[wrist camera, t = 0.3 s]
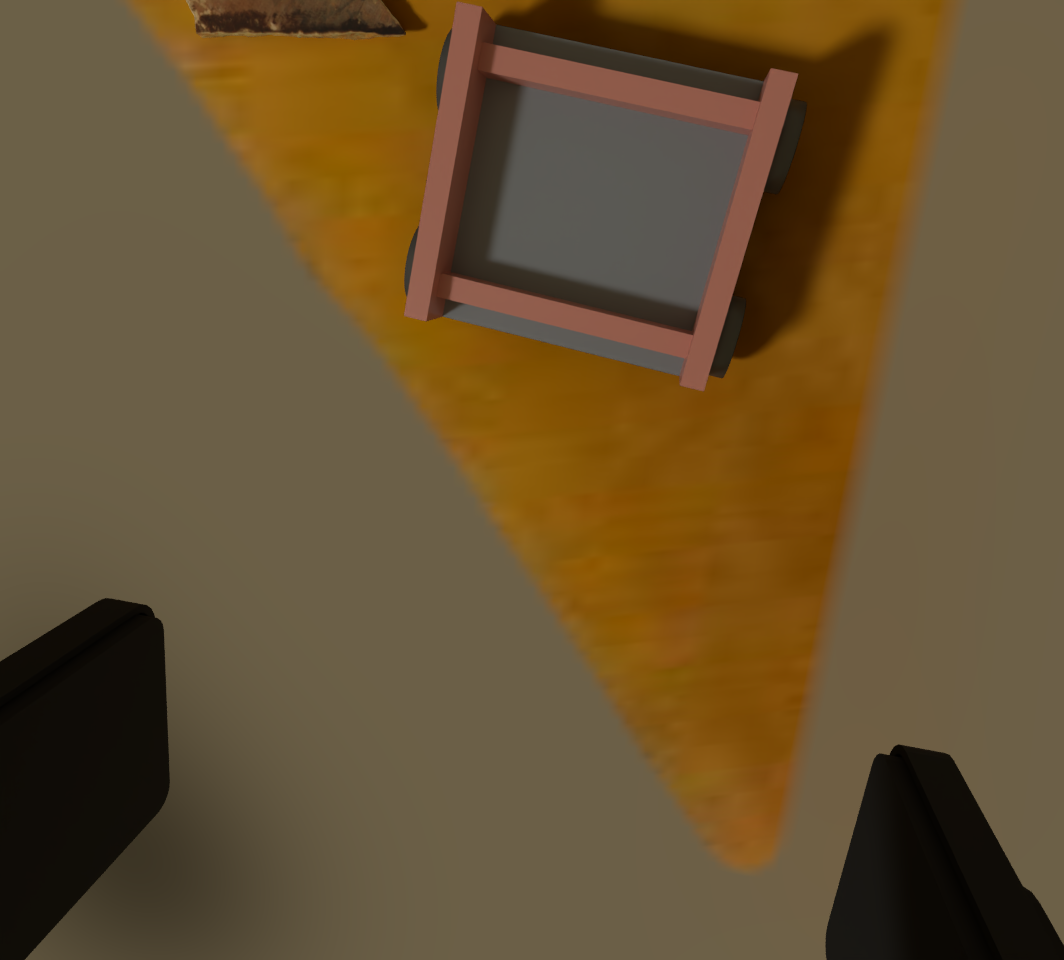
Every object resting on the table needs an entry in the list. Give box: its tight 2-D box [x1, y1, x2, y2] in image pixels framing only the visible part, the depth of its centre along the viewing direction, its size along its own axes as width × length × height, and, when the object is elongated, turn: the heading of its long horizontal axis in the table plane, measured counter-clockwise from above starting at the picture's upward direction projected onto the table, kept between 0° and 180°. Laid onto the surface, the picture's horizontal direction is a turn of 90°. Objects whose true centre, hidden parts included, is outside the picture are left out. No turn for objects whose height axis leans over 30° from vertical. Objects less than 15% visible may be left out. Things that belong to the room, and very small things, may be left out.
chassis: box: [404, 2, 807, 391], centre depth 34 cm, size 12×15×6 cm
